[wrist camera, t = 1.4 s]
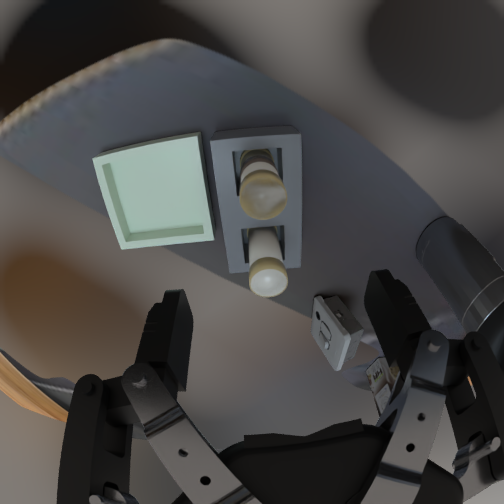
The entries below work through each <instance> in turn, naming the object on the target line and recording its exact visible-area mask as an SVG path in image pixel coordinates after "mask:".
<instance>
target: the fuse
mask: <svg viewBox="0 0 504 504" xmlns="http://www.w3.org/2000/svg"><path fill="white" fill-rule="evenodd" d="M247 236H248V244H249V265H250V268H249V286H250V289H251V290H252V292H253V293H255V294H256V295H258V296H261V297H273V296H277V295H279V294H281V293H282V292H283V291H284V290H285V289H286V287H287V285H288V278H287V273H286V268H285V265H284V264H283V259H282V255H281V250H280V245H279V241H278V236H277V227H276V226H269V227H257V228H247Z"/></svg>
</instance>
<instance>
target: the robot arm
mask: <svg viewBox="0 0 504 504" xmlns="http://www.w3.org/2000/svg"><path fill="white" fill-rule="evenodd" d="M416 255H417V259H418V260H419V262H420V263H421V265H422V266H423V267H424V269H425V270H426V272H427V273H428V274H429V276H430V277H431V279H432V280H433V281H434V283H435V284H436V286H437V287H438V289H439V290H440V292H441V293H442V295H443V296H444V298H445V299H446V301H447V302H448V304H449V305H450V307H451V308H452V310H453V312H454V313H455V315H456V316H457V318H458V320H459V321H460V323H461V325H462V326H463V328H464V330H465V331H466V333H467V335H466V336H465V337H464V339H463V340H457V339H447V338H446V336H445V335H444V334H443V333H442V332H440V331H438V330H434V329H432V328H431V326H430V325H429V323H428V321H427V319H426V317H425V316H424V314H423V312H422V310H421V309H420V307H419V305H418V304H417V303H416V300H415V299H414V297H412V294H411V292H410V290H409V289H408V287H407V286H406V285H405V284H404V283H402V282H401V281H400V280H399V279H397V280H395V279H394V278H393V276H392V274H391V273H390V271H389V270H387V269H385V270H377V271H372V272H371V273H370V275H369V280H368V284H367V288H366V292H365V296H364V306H365V310H366V312H367V314H368V317H369V319H370V321H371V324H372V326H373V328H374V331H375V333H376V335H377V338H378V340H379V343H380V345H381V348H382V350H383V353H384V355H385V358H386V361H387V363H388V366H389V368H391V367H395V366H398V367H399V370H400V371H399V372H398V375H397V377H396V380H395V383H394V386H393V389H392V391H391V394H390V397H389V399H388V402H387V404H386V407H385V409H384V411H383V413H382V414H381V416H380V418H379V420H378V421H377V423H376V425H375V426H373V425H367V424H362V421H361V419H357V420H352V421H348V422H343V423H338V424H334V425H332V426H330V427H327V428H325V429H323V430H320V431H318V432H315V433H313V434H310V435H308V436H293V435H284V434H275V433H271V434H258V435H244V441H242V442H238V443H236V444H233V445H231V446H230V447H227V448H226V449H224V450H223V451H221V452H220V453H218V452H217V451H216V450H215V449H214V448H213V446H212V445H211V444H210V443H209V442H208V440H207V439H206V438H205V437H204V436H203V435H202V433H201V432H200V431H199V430H198V428H197V427H196V426H195V425H194V423H193V422H192V421H191V419H190V418H189V417H188V415H187V414H186V413H185V411H184V410H183V409H182V407H181V406H180V404H179V403H178V402H177V392H178V391H186V383H187V375H188V366H189V357H190V349H191V341H192V333H193V315H192V312H191V309H190V306H189V303H188V300H187V297H186V294H185V291H184V290H183V289H181V290H180V289H179V290H166V291H165V293H164V298H163V301H162V303H155V304H154V306H153V307H152V308H151V310H150V311H149V312H148V316H147V319H146V324H145V326H144V332H143V333H142V337H141V341H140V344H139V348H138V352H137V356H136V360H135V363H134V364H133V365H131V366H129V367H128V368H127V369H126V370H125V371H124V373H123V375H122V376H119V377H115V378H111V379H107V380H103V381H102V380H101V379H100V378H99V377H98V376H96V375H94V374H88V375H85V376H83V377H81V378H80V379H79V380H78V382H77V383H76V385H75V388H74V392H73V396H72V400H71V404H70V409H69V413H68V418H67V423H66V428H65V433H64V440H63V445H62V452H61V459H60V467H59V477H58V490H57V504H139V502H138V501H137V499H136V498H135V497H134V496H132V495H131V494H129V480H130V479H129V478H130V459H131V458H130V457H131V444H132V432H133V423H137V422H142V424H143V426H144V428H145V430H144V434H145V436H146V438H147V440H148V441H149V443H150V444H151V446H152V448H153V449H154V451H155V452H156V454H157V455H158V457H159V458H160V460H161V461H162V463H163V464H164V466H165V467H166V469H167V470H168V471H169V473H170V474H171V476H172V477H173V478H174V480H175V481H176V482H177V484H178V485H179V486H180V488H181V489H182V490H183V492H182V494H181V495H180V496H179V497H178V498H177V499H176V500H175V501H174V502H173V503H172V504H463V502H464V501H466V500H468V499H470V498H471V497H473V496H475V495H476V494H478V493H479V492H481V491H483V490H484V489H486V488H487V487H489V486H490V485H491V484H494V483H496V482H499V481H501V480H504V271H503V270H502V268H501V267H500V266H499V265H498V264H497V263H496V261H495V258H494V257H493V256H492V255H491V254H490V252H489V251H488V250H487V249H486V248H485V247H484V246H483V245H482V244H481V243H480V242H479V241H478V240H477V239H476V238H475V237H474V236H473V235H472V234H471V233H470V232H469V231H468V230H467V229H466V228H465V227H464V226H463V225H461V224H459V223H458V222H456V221H455V220H454V219H453V218H450V217H443V218H439V219H437V220H436V221H434V222H433V223H431V224H430V225H429V226H428V227H427V228H426V229H425V231H424V232H423V233H422V235H421V237H420V239H419V241H418V244H417V249H416ZM468 376H469V377H470V379H471V382H472V384H473V387H474V390H475V392H476V399H475V397H474V394H473V391H472V388H471V386H470V383H469V381H468V378H467V377H468ZM444 404H446V407H447V410H448V414H449V417H450V420H451V424H452V428H453V431H454V435H455V439H456V443H457V447H458V452H457V454H456V456H455V459H454V461H453V463H452V467H453V469H454V473H453V474H451V473H449V472H448V471H446V470H445V469H443V468H442V467H440V466H438V465H437V464H435V463H434V462H432V461H431V460H429V459H428V457H429V454H430V451H431V448H432V445H433V442H434V439H435V436H436V433H437V430H438V426H439V423H440V419H441V415H442V411H443V407H444Z"/></svg>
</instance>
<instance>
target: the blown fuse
mask: <svg viewBox="0 0 504 504" xmlns="http://www.w3.org/2000/svg"><path fill="white" fill-rule="evenodd" d="M240 169H241V171H240V182H241V185H240V204H241V207H242V209H243V210H244V212H245V213H246V214H247V215H249V216H250V217H252V218H255V219H259V220H266V219H271V218H273V217H275V216H277V215H278V214H280V213H281V212H282V211H283V209H284V208H285V206H286V203H287V192H286V189H285V187H284V184H283V182H282V180H281V178H280V177H279V173H278V171H277V168H276V166H275V164H274V159H273V157H272V155H271V153H270V151H269V150H268V149H254V150H244V151H243V152H242V154H241V157H240Z"/></svg>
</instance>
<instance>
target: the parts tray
mask: <svg viewBox="0 0 504 504" xmlns="http://www.w3.org/2000/svg"><path fill="white" fill-rule="evenodd" d="M93 163H94V167H95V170H96V174H97V178H98V181H99V185H100V188H101V191H102V195H103V198H104V201H105V204H106V207H107V210H108V213H109V216H110V219H111V222H112V225H113V228H114V231H115V234H116V236H117V239H118V242H119V244H120V247H121V249H131V248H140V247H149V246H160V245H170V244H180V243H190V242H200V241H211V240H214V238H215V232H216V227H215V221H214V215H213V209H212V203H211V197H210V191H209V184H208V178H207V171H206V165H205V158H204V151H203V144H202V137H201V132H196V133H189V134H183V135H177V136H172V137H166V138H161V139H156V140H151V141H146V142H142V143H137V144H133V145H129V146H125V147H121V148H117V149H113V150H109V151H105V152H102V153H100V154H99V155H97V156H96V157H94V158H93Z"/></svg>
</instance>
